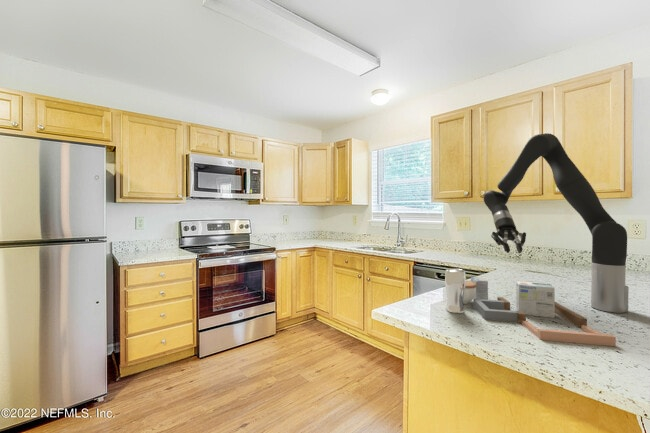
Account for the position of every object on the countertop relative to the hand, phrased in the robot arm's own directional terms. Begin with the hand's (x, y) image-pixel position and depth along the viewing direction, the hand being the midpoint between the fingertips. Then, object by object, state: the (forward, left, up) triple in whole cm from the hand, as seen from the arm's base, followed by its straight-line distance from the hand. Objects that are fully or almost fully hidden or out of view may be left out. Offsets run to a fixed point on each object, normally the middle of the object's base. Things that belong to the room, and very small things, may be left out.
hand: (514, 251), depth 122 cm
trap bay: (+14, +22, -20) cm, 33 cm away
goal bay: (0, +36, -20) cm, 41 cm away
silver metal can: (+28, +22, -20) cm, 41 cm away
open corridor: (0, +20, -20) cm, 28 cm away
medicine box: (+15, +4, -20) cm, 25 cm away
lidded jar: (+23, +9, -20) cm, 32 cm away
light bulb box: (0, +18, -20) cm, 27 cm away
